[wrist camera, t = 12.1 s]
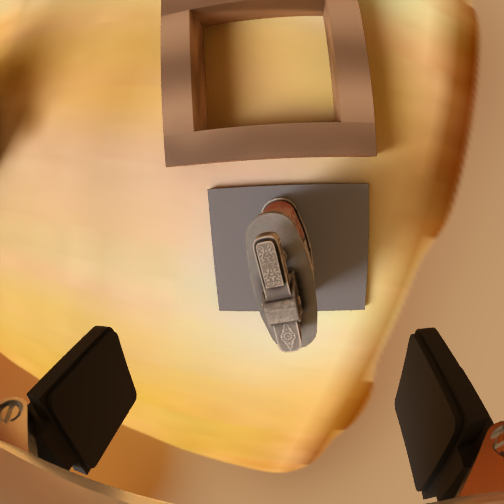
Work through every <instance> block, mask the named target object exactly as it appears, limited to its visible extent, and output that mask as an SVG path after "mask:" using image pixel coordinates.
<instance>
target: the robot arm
mask: <svg viewBox="0 0 504 504" xmlns="http://www.w3.org/2000/svg"><path fill="white" fill-rule="evenodd" d="M27 396H28V398H29V399H30V403H29V405H27V403H26V401H25V400H24V399H22V398H20V397H9V398H6V399H4V400H2V401H0V504H173V503H169V502H164V501H160V500H156V499H152V498H148V497H144V496H141V495H137V494H134V493H130V492H127V491H123V490H120V489H117V488H114V487H110V486H108V485H104V484H102V483H99V482H96V481H93V480H91V479H88V478H85V477H83V476H80V475H77V474H75V473H73V472H70V468H71V467H73V468H74V470H76V471H79V472H81V473H84V474H86V475H87V474H88V473H89V471H90V469H91V468H94V467H95V466H96V465H97V463H98V462H99V460H100V458H101V457H102V455H103V453H104V452H105V450H106V448H107V446H108V445H109V443H110V442H111V440H112V438H113V437H114V435H115V433H116V432H117V430H118V428H119V427H120V425H121V424H122V422H123V420H124V419H125V417H126V415H127V414H128V412H129V410H130V409H131V407H132V406H133V404H134V402H135V400H136V390H135V387H134V384H133V381H132V378H131V375H130V373H129V370H128V367H127V363H126V360H125V357H124V354H123V351H122V348H121V344H120V341H119V338H118V335H117V333H116V332H114V330H113V329H112V328H111V327H104V326H95V327H93V328H92V329H91V330H90V331H89V332H88V333H87V334H86V335H85V336H84V337H83V338H82V339H81V340H80V341H79V342H78V343H77V344H76V345H75V346H74V347H73V348H72V349H71V350H70V351H69V352H68V353H67V354H65V355H64V356H63V357H62V358H61V359H60V360H59V361H58V362H57V363H56V364H55V365H54V366H53V367H52V368H51V369H50V370H49V371H48V373H47V374H46V375H45V376H44V377H43V378H42V379H41V380H40V381H39V382H38V383H37V384H36V385H35V386H34V387H33V388H32V389H31V390H30V391H29V392H28V393H27ZM395 410H396V413H397V417H398V420H399V424H400V427H401V431H402V435H403V438H404V442H405V446H406V450H407V454H408V458H409V462H410V466H411V470H412V474H413V478H414V483H415V487H416V489H417V491H422V495H423V499H428V498H432V497H437V501H438V502H433V503H427V504H504V421H500V422H498V423H495V424H494V423H493V421H492V419H491V418H490V416H489V414H488V412H487V410H486V408H485V407H484V405H483V403H482V401H481V399H480V398H479V396H478V394H477V392H476V391H475V389H474V387H473V386H472V384H471V382H470V380H469V379H468V377H467V376H466V374H465V372H464V371H463V369H462V368H461V367H460V366H459V364H458V362H457V361H456V359H455V357H454V356H453V355H452V353H451V351H450V350H449V348H448V346H447V345H446V343H445V342H444V340H443V339H442V337H441V336H440V334H439V333H438V331H437V330H436V329H435V328H424V329H417V330H416V332H415V334H411V336H410V338H409V343H408V348H407V353H406V358H405V362H404V366H403V371H402V375H401V379H400V383H399V387H398V391H397V395H396V398H395Z"/></svg>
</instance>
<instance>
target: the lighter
mask: <svg viewBox="0 0 504 504" xmlns="http://www.w3.org/2000/svg"><path fill="white" fill-rule="evenodd" d="M245 237H246V252H247V265H248V270H249V276H250V281H251V286H252V291H253V294H254V297H255V300H256V303H257V306H258V308H259V311H260V314H261V317H262V319H263V321H264V323H265V325H266V327H267V329H268V331H269V333H270V335H271V337H272V339H273V340H274V341H275V343H276V344H278V347H279V349H280V350H281V351H282V352H294V351H298V350H299V349H300V348H302V347H305V346H307V345H308V344H310V343H311V342H312V341H313V340H314V338H315V336H316V333H317V298H316V288H315V279H314V266H313V258H312V250H311V244H310V241H309V237H308V234H307V230H306V227H305V224H304V222H303V219H302V217H301V215H300V213H299V210H298V208H297V206H296V204H295V203H294V202H293V201H292V200H290V199H289V198H285V197H276V198H273V199H271V200H270V201H268V202H267V203H266V204H265V205H264V207H263V209H262V212H261V214H259V215H257V216H256V217H255V218H254V219H253V220H252V221H251V222H250V224H249V225H248V227H247V229H246V236H245Z"/></svg>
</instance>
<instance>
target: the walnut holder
mask: <svg viewBox="0 0 504 504" xmlns="http://www.w3.org/2000/svg"><path fill="white" fill-rule="evenodd" d="M287 16H323V17H324V23H325V30H326V37H327V45H328V52H329V61H330V69H331V79H332V89H333V100H334V111H335V122H307V123H282V124H265V125H252V126H240V127H229V128H220V129H211V130H208V120H207V103H206V84H205V63H204V38H203V26H209V25H215V24H221V23H227V22H234V21H242V20H250V19H260V18H272V17H287ZM161 89H162V114H163V132H164V148H165V162H166V167H174V166H187V165H196V164H207V163H218V162H230V161H243V160H258V159H277V158H302V157H372V156H377V149H376V132H375V118H374V106H373V96H372V86H371V78H370V70H369V62H368V55H367V48H366V42H365V36H364V30H363V24H362V19H361V13H360V8H359V3H358V0H161Z"/></svg>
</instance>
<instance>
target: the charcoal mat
mask: <svg viewBox="0 0 504 504" xmlns="http://www.w3.org/2000/svg"><path fill="white" fill-rule="evenodd" d="M276 197H285V198H289V199H290V200H292V201H293V202H294V203H295V204H296V206H297V208H298V210H299V213H300V215H301V217H302V219H303V222H304V224H305V227H306V230H307V234H308V237H309V241H310V244H311V250H312V258H313V266H314V279H315V288H316V298H317V311H335V310H365V299H366V284H367V266H368V239H369V184H367V183H335V184H292V185H267V186H247V187H230V188H215V189H208V200H209V212H210V223H211V234H212V245H213V255H214V265H215V274H216V284H217V293H218V302H219V311H259V308H258V306H257V303H256V300H255V297H254V294H253V291H252V286H251V281H250V276H249V270H248V265H247V252H246V237H245V236H246V229H247V227H248V225H249V224H250V222H251V221H252V220H253V219H254V218H255V217H256V216H257V215H259V214H261V212H262V209H263V207H264V205H265V204H266V203H267V202H268V201H270V200H271V199H273V198H276Z"/></svg>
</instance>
